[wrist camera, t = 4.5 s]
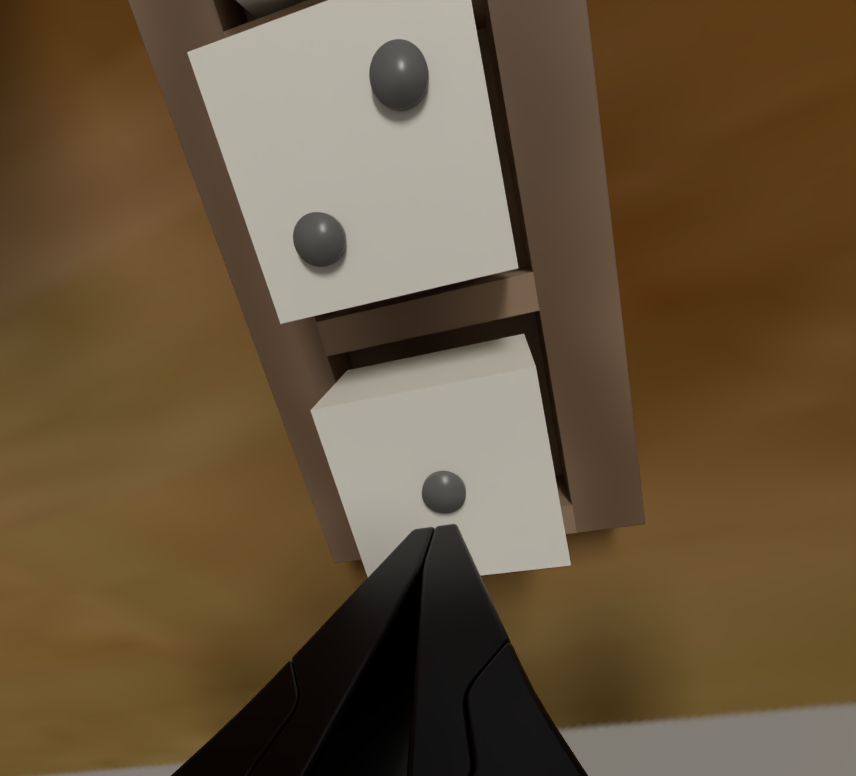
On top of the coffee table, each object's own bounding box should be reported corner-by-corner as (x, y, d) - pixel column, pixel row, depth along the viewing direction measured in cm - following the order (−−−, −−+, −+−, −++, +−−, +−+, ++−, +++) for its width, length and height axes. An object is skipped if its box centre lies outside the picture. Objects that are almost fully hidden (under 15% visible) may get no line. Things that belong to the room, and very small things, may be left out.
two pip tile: (468, 26, 10) (461, -57, 7) (510, 257, 12) (519, 268, 9) (262, 95, 11) (180, 47, 8) (326, 301, 13) (276, 325, 10)
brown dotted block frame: (505, -449, 9) (512, -659, 7) (622, 481, 16) (645, 524, 14) (96, -236, 11) (-1, -351, 9) (353, 520, 18) (335, 563, 16)
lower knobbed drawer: (524, 333, 12) (537, 369, 9) (552, 495, 14) (572, 571, 11) (347, 370, 13) (307, 413, 10) (393, 517, 15) (369, 593, 12)
